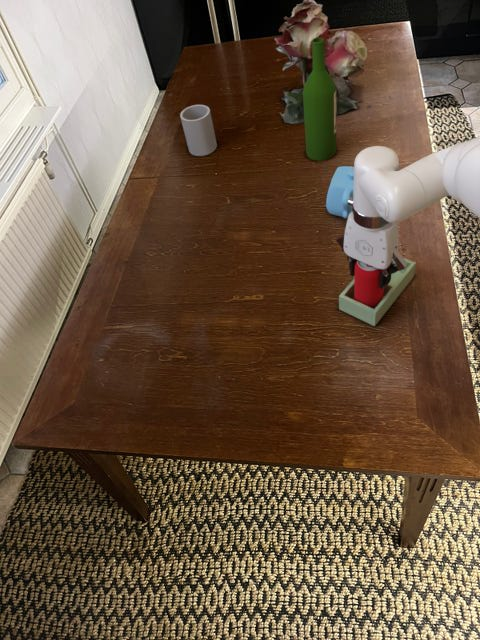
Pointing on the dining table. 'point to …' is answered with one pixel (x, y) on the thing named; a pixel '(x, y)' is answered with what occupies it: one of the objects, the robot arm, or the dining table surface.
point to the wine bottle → (319, 108)
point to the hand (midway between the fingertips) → (369, 277)
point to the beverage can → (367, 284)
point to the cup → (198, 130)
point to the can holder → (389, 296)
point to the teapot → (341, 192)
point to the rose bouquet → (339, 54)
